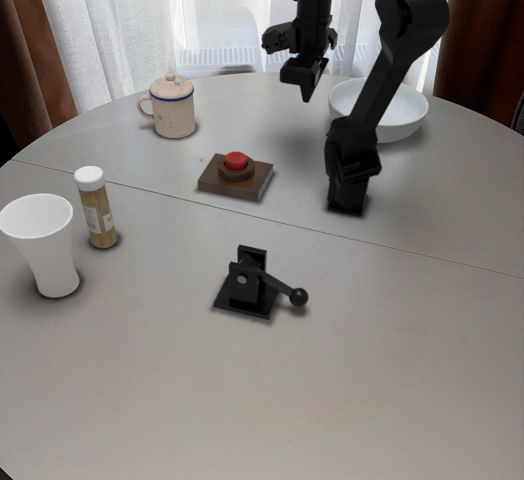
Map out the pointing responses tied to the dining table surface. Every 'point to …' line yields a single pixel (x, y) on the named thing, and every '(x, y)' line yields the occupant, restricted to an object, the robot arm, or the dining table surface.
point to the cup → (43, 240)
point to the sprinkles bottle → (96, 206)
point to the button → (235, 161)
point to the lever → (278, 283)
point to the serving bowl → (395, 117)
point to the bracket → (247, 287)
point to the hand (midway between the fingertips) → (306, 101)
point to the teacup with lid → (171, 106)
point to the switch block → (236, 179)
